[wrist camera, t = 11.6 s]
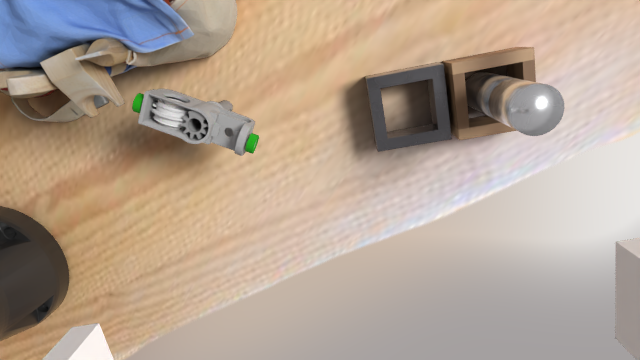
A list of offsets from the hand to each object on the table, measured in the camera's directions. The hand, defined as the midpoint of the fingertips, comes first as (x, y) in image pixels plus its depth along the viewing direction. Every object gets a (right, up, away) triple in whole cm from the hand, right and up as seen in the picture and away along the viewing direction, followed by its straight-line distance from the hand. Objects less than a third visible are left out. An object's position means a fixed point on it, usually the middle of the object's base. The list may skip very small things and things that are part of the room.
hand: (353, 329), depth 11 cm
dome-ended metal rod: (+15, +13, +32) cm, 37 cm away
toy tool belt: (-21, +20, +32) cm, 43 cm away
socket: (+8, +11, +32) cm, 35 cm away
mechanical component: (-10, +11, +34) cm, 37 cm away
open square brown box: (+15, +13, +32) cm, 37 cm away
